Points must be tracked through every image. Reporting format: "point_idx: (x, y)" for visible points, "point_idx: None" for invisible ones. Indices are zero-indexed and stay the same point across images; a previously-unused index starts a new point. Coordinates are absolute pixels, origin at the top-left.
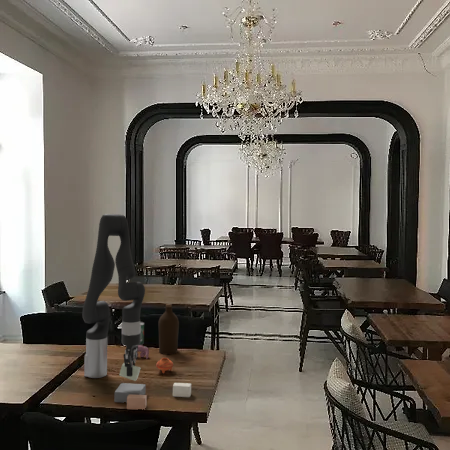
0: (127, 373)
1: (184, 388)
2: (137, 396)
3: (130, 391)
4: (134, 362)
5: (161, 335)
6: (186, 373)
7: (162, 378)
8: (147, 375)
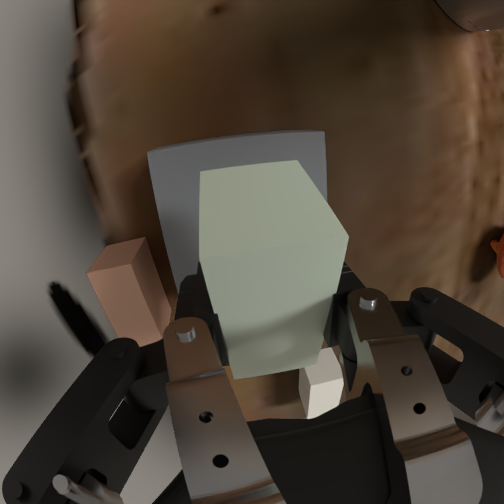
0: (180, 290)
1: (306, 404)
2: (126, 314)
3: (189, 246)
4: (340, 355)
5: None
6: (476, 305)
7: (460, 255)
8: (484, 192)
